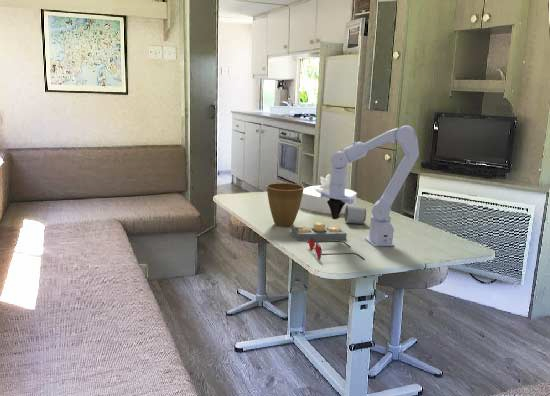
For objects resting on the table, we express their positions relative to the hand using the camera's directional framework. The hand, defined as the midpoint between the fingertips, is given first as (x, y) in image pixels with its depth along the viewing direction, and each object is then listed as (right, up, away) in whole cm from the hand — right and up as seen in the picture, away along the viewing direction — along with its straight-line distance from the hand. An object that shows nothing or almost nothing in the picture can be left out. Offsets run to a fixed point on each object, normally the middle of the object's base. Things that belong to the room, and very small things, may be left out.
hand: (335, 218), depth 193 cm
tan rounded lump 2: (0, -7, +1) cm, 7 cm away
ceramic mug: (+11, -3, +24) cm, 26 cm away
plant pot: (-20, -3, +14) cm, 24 cm away
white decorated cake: (+2, +3, +50) cm, 50 cm away
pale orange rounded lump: (-12, -6, -1) cm, 14 cm away
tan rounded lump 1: (-6, -5, 0) cm, 8 cm away
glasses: (-2, -12, -19) cm, 22 cm away
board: (-7, -6, +2) cm, 9 cm away
